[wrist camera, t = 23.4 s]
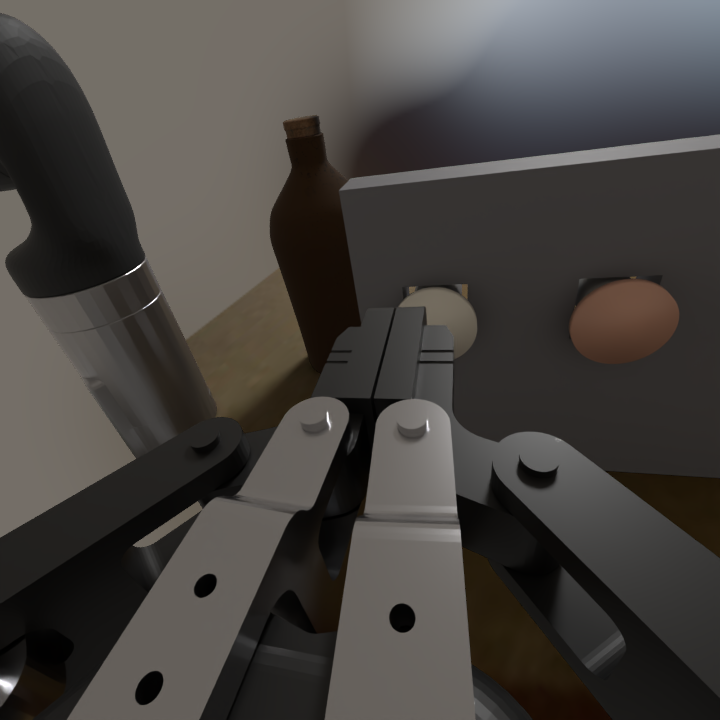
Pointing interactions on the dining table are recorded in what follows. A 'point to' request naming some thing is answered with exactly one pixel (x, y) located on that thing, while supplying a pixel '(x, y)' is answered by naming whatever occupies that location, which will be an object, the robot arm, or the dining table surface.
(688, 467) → the control panel
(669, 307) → the button terracotta
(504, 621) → the dining table surface
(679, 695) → the robot arm
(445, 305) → the button cream
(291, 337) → the dining table surface
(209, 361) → the dining table surface
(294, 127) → the olive oil
